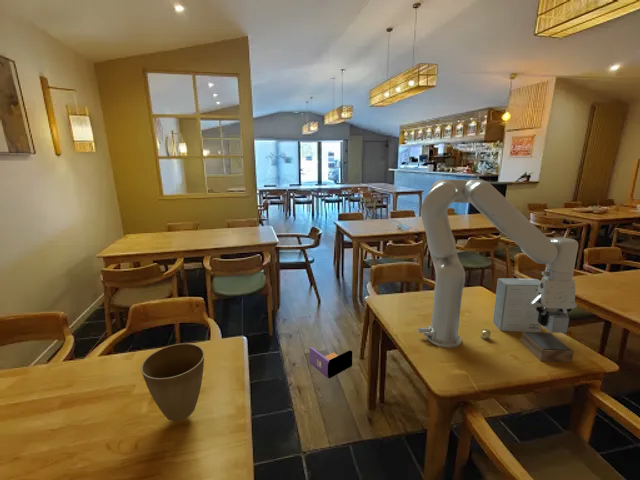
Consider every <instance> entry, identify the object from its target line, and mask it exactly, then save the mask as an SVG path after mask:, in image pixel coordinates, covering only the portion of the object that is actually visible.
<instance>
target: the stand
mask: <svg viewBox="0 0 640 480" xmlns="http://www.w3.org/2000/svg"><path fill="white" fill-rule="evenodd" d="M520 343H521V344H523V346H524V347H525V348H526V349H527V350H528V351H529V352H531V353H532V354H533V355H534V357H536V358H537V359H538V361H540V362H557V363H558V362H559V363H562V362H564V363H572V362H573V361H572V360H573V357H574V356H573V355H574V350H573V349H571V348H570V347H569V346H567V345H566V344H565V343H564V342H562V341H561V340H560V339H558V338H557V337H556V336H555V335H553V333H551V332H521V338H520Z"/></svg>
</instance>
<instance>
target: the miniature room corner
mask: <svg viewBox="0 0 640 480" xmlns="http://www.w3.org/2000/svg"><path fill="white" fill-rule="evenodd" d="M309 364H310V365H312V367H314V368H315V369H316V370H317V371H319V372H320V373H321V374H322V375H323V376H324V377H326V378H327V379H332V378H333V377H336V376H337V375H339V374H341V373H342V372H344V371H346V370H348V369H349V368H352V366H353V350H352V349H349V350H348V351H345V352H343V353H341V354H339V355H338V354H337V353H335V352H334V351H333V352H332V353H329V354H327V355H323V354H322V353H320V352H319V351H318V350H316V349H315V348H314V347H311V346H310V347H309Z"/></svg>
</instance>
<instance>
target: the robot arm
mask: <svg viewBox="0 0 640 480" xmlns="http://www.w3.org/2000/svg"><path fill="white" fill-rule="evenodd" d="M454 203H457V204H471V205H472V206H473V207H474V208H475V209H476V210H477V211H478V212H479V213H480V214H481V215H483V217H484V218H486V220H487V221H489V222H490V224H492V226H494V227H495V228H496V230H498V231H499V232H501V234H503V235H504V236H507V238H508V239H510V240H512V242H514V243H515V244H516V245H517V246H518V247H519V248H520V251H521V252H522V253H523V254H524V255H525V256H527V257H528V258H530V259H531V260H532V261H533V262H534V263H536V264H540V265H541V264H542V265H545V269H544V271H543V270H542V271H541V275H542V277H541V280H540V284H539V287H538V291H537V296H536V298H535V299H534V300H533V301H532V302H531V303H530V304H531V305H532V306H533V307H534V308H535V309H536V310H537V311H538V312H539V315H538V323H540V324H541V325H542V327H543V326H545V325H546V319H547V316H546V315H545V314H546V313H547V311H548V309H559V310H560V311H562V312H563V313H565V314H566V315H568V313H570V312H571V311H572V310H573V309H575V308H577V306H578V304H577V303H576V302H575V301H576V281H575V279H574V271H575V266H576V261H577V254H578V251H579V242H578V241H577V240H576V239H573V238H569V237H559V236H558V237H549V236H546V235H545V234H544V233H543V232H542V231H541V230H540V229H539V228H538V227H537V226H536V225H535V224H533V223H532V222H531V221H530V220H529V219H528V218H527V217H526V216H525V215H524V214H523V213H522V212H520V210H518V208H516V207H515V206H514V205H513V203H511V202H510V201H509V200H508V199H507V198H506V197H505V196H504V195H503V194H502V193H501V192H500V191H498V190H497V188H495V186H493V184H491V183H490V182H488V181H487V180H486V181H485V180H481V179H438V180H437V181H435V182H433V184H432V185H431V187H430V190H429V191H428V193H427V194H426V195H425V197H424V200H423V201H422V205H421V211H420V212H421V220H422V224H423V227H424V233H425V234H426V235H425V236H426V244H427V246H428V247H427V248H428V251H429V254H430V256H431V260H432V264H433V267H434V271H435V272H434V273H435V283H434V291H433V303H432V314H431V315H432V316H431V317H432V318H431V324H428V326H427V327H417V328H418V329H417V330H418V331H417V332H418V334H419V333H420V334H422V335H423V336H425V337H426V339H427V341H428V342H430V343H431V344H433V345H435V346H438V347H440V348H441V347H442V348H447V349H448V348H449V349H452V348H453V349H454V348H457V347H460V346H461V345H462V341H463V340H462V337H461V336H460V335H459V327H460V318H461V317H460V316H461V308H462V299H463V298H462V297H463V291H464V287H465V282H466V272H465V268H464V266H463V264H462V263H461V261H460V258H459V254H458V252H457V248H456V246H457V245H456V243H457V242H456V239H455V237H454V235H453V231H452V228H451V224H450V219H449V216H448V211H449V207H450V206H451V204H454ZM538 303H539V304H540V306H538Z"/></svg>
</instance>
